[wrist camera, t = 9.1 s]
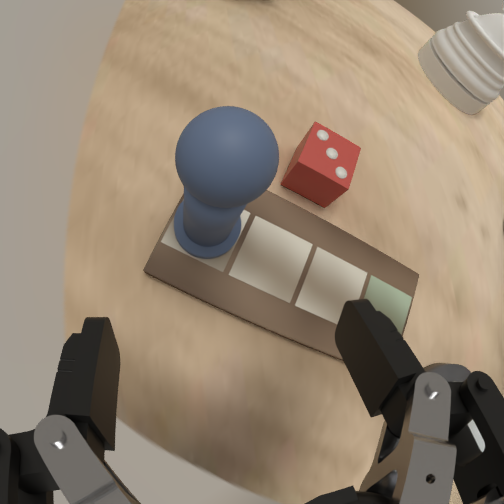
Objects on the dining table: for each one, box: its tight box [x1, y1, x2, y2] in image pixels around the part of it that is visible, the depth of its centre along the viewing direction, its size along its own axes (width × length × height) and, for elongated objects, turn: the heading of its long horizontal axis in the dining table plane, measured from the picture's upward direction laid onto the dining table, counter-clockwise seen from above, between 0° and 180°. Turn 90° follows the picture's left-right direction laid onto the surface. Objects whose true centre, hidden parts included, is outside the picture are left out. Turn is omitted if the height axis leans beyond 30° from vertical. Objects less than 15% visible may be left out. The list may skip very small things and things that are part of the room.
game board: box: [143, 190, 419, 360], centre depth 23 cm, size 9×20×1 cm, turn 66°
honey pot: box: [418, 0, 504, 115], centre depth 26 cm, size 13×13×18 cm
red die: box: [281, 122, 361, 208], centre depth 23 cm, size 4×4×4 cm
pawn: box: [174, 106, 279, 259], centre depth 16 cm, size 4×4×12 cm
